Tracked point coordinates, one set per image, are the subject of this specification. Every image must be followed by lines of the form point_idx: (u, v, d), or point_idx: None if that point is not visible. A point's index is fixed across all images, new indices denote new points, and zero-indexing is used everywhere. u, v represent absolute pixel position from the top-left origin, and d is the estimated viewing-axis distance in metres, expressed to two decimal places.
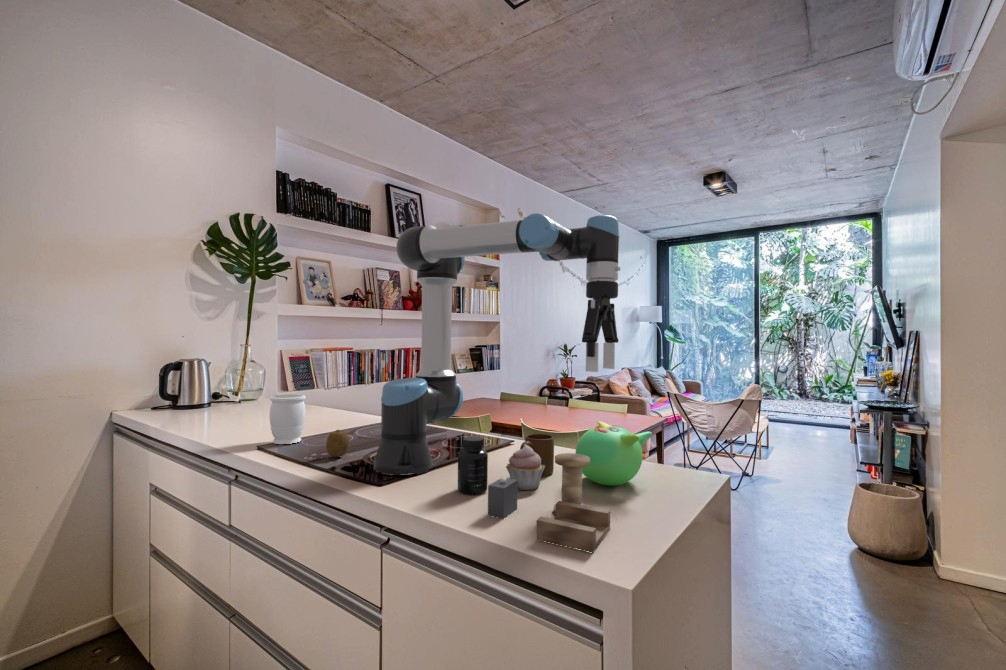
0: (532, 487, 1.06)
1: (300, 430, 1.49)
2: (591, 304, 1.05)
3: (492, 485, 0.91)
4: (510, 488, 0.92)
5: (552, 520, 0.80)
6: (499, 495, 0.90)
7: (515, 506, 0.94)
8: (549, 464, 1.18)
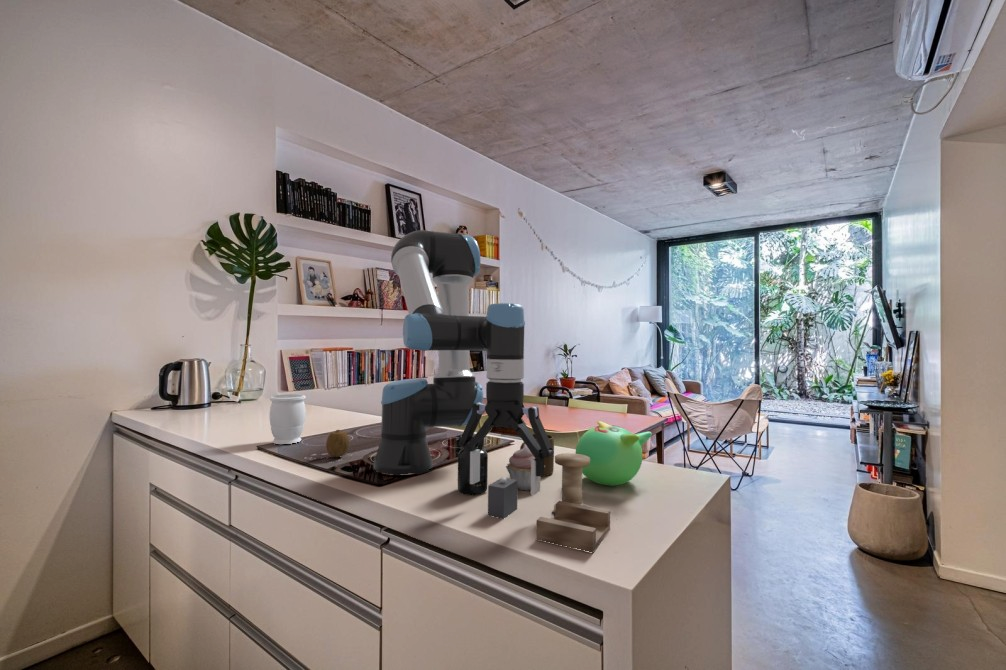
0: None
1: (300, 430, 1.49)
2: None
3: (492, 485, 0.91)
4: (510, 488, 0.92)
5: (552, 520, 0.80)
6: (499, 495, 0.90)
7: (515, 506, 0.94)
8: (549, 464, 1.18)
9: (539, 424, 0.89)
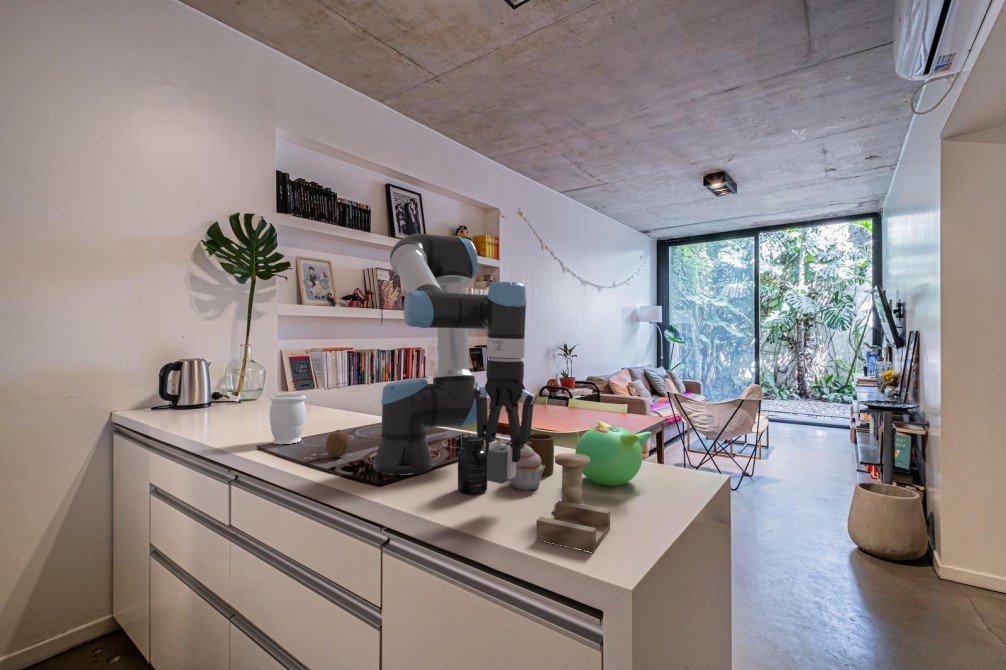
0: (532, 487, 1.06)
1: (300, 430, 1.49)
2: None
3: (492, 450, 0.91)
4: None
5: (552, 520, 0.80)
6: (498, 460, 0.90)
7: None
8: (549, 464, 1.18)
9: (530, 412, 0.90)
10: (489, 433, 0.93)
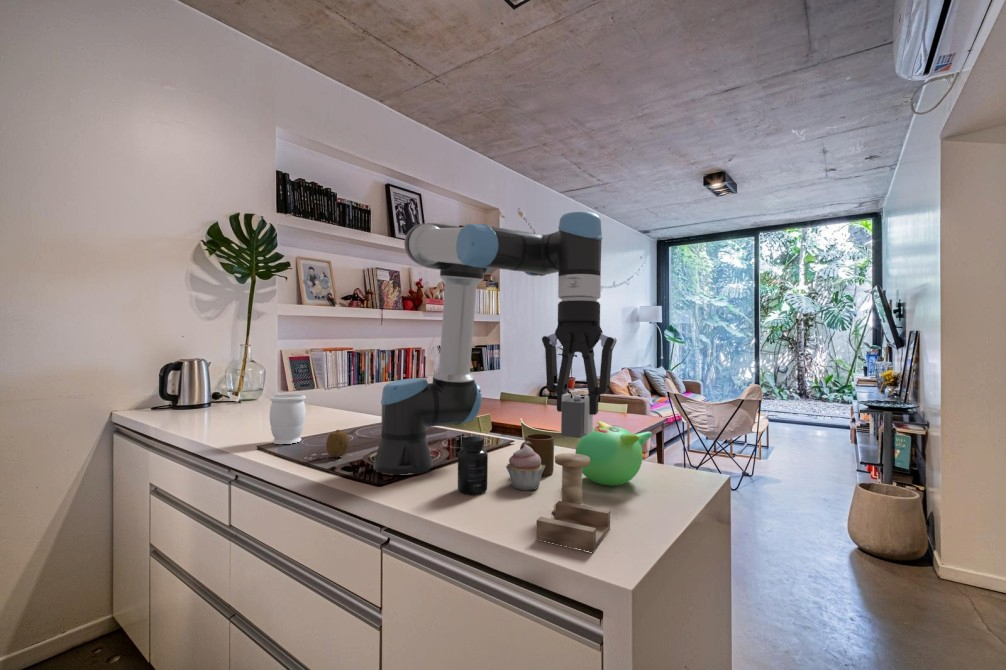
0: (532, 487, 1.06)
1: (300, 430, 1.49)
2: None
3: (566, 401, 0.81)
4: None
5: (552, 520, 0.80)
6: (575, 411, 0.80)
7: None
8: (549, 464, 1.18)
9: (609, 357, 0.80)
10: (562, 384, 0.83)
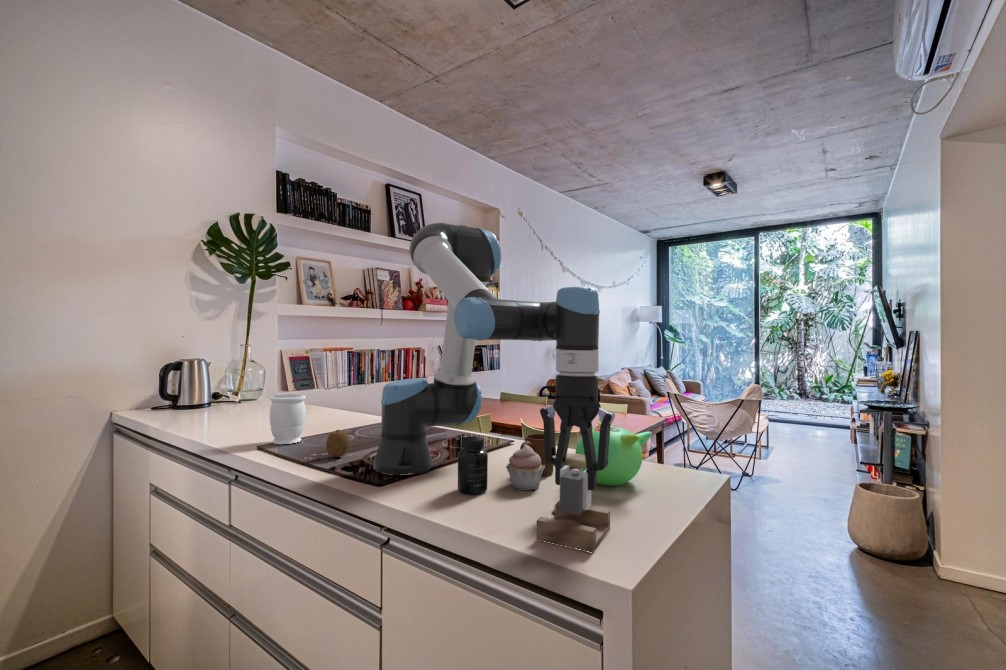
0: (532, 487, 1.06)
1: (300, 430, 1.49)
2: None
3: (564, 477, 0.81)
4: None
5: (552, 520, 0.80)
6: (573, 488, 0.79)
7: None
8: (549, 464, 1.18)
9: (608, 433, 0.80)
10: (560, 457, 0.83)
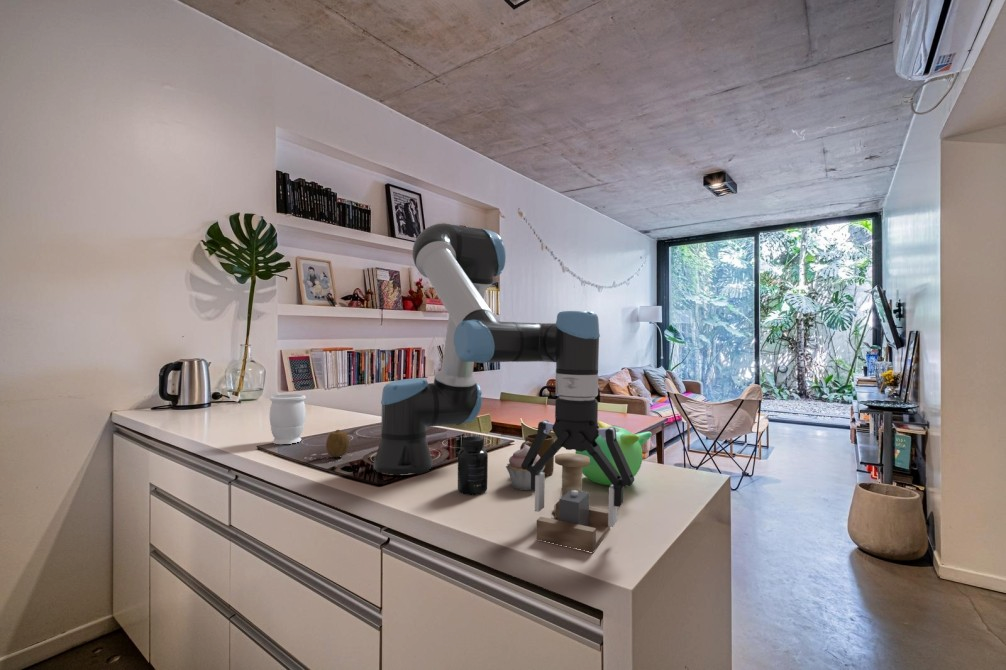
0: None
1: (300, 430, 1.49)
2: None
3: (564, 499, 0.81)
4: (583, 502, 0.81)
5: (552, 520, 0.80)
6: (572, 511, 0.79)
7: (587, 522, 0.83)
8: (549, 464, 1.18)
9: (618, 448, 0.79)
10: (538, 467, 0.85)
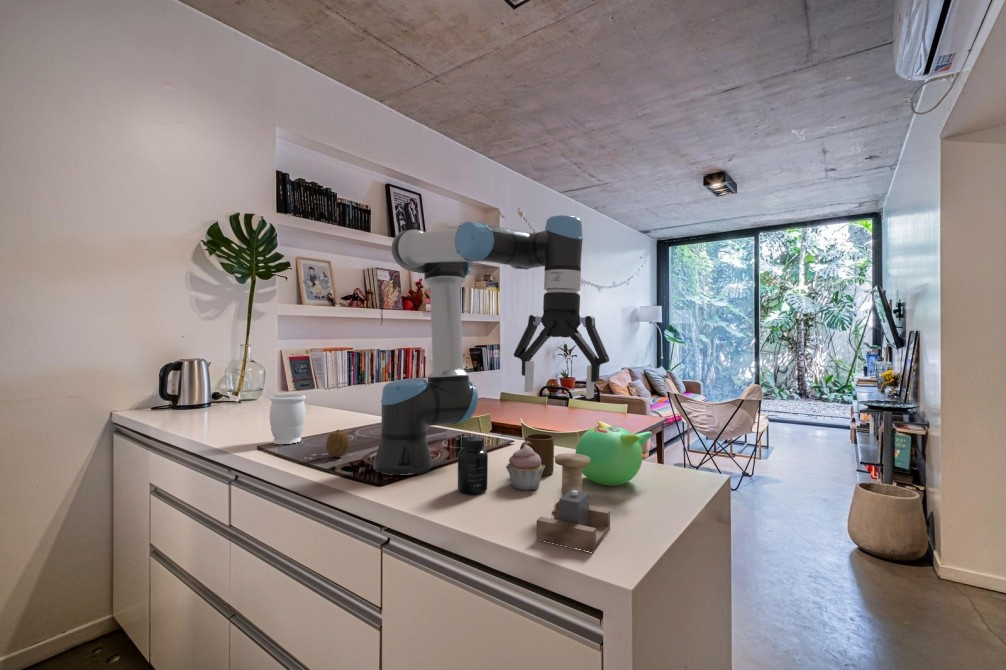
0: (532, 487, 1.06)
1: (300, 430, 1.49)
2: None
3: (564, 499, 0.81)
4: (583, 502, 0.81)
5: (552, 520, 0.80)
6: (572, 511, 0.79)
7: (587, 522, 0.83)
8: (549, 464, 1.18)
9: (595, 332, 0.92)
10: (528, 354, 0.98)
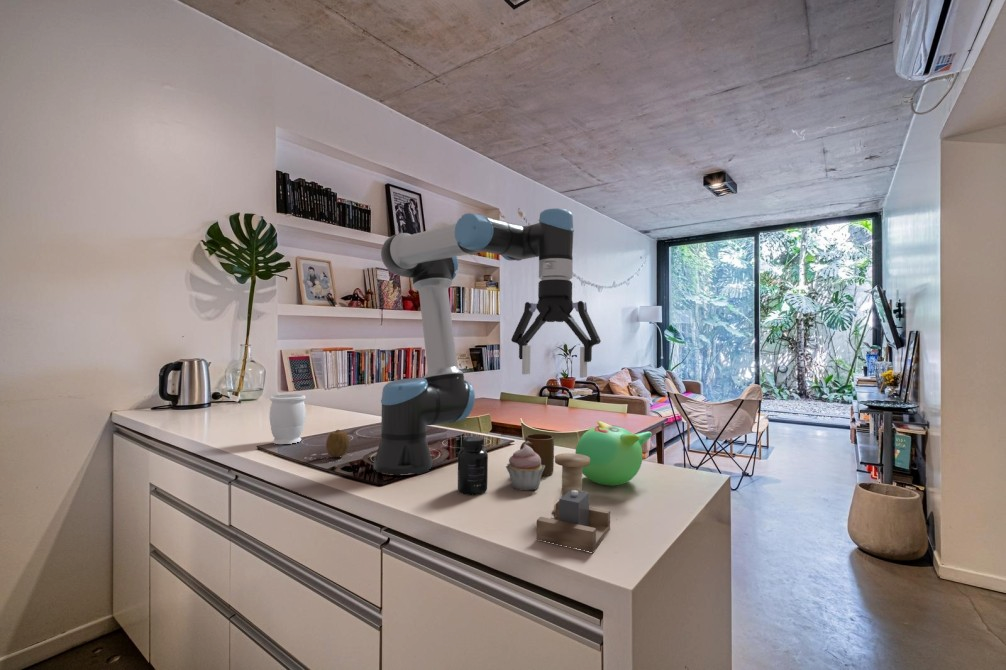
0: (532, 487, 1.06)
1: (300, 430, 1.49)
2: None
3: (564, 499, 0.81)
4: (583, 502, 0.81)
5: (552, 520, 0.80)
6: (572, 511, 0.79)
7: (587, 522, 0.83)
8: (549, 464, 1.18)
9: (587, 316, 0.99)
10: (524, 339, 1.05)
